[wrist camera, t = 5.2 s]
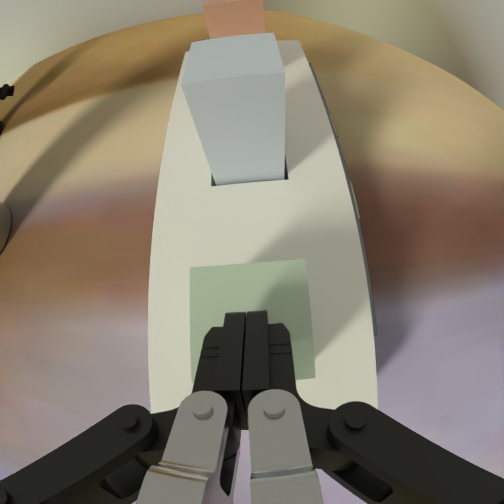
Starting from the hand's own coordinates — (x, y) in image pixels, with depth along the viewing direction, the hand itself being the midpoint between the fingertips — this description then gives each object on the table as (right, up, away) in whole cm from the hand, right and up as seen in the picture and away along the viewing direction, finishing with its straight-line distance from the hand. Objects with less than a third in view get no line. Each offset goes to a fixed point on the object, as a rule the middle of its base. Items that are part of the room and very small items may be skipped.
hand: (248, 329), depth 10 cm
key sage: (+1, -3, +10) cm, 11 cm away
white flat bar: (0, +8, +16) cm, 18 cm away
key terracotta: (-1, +22, +16) cm, 27 cm away
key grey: (0, +10, +11) cm, 15 cm away
